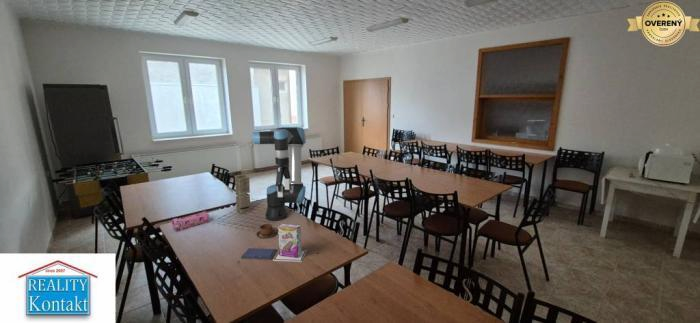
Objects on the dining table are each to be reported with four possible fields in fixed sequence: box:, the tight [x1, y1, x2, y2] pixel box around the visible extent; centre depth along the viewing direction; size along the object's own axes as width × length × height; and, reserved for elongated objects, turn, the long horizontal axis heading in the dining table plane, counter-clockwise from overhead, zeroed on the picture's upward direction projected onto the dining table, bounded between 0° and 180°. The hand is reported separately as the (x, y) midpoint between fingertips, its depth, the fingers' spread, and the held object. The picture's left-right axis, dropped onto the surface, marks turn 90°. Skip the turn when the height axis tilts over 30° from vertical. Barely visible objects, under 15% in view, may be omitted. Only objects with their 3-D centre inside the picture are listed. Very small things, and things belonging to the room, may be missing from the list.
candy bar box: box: [277, 223, 302, 258], centre depth 154 cm, size 11×5×16 cm, turn 77°
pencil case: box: [171, 210, 210, 233], centre depth 193 cm, size 21×9×9 cm, turn 138°
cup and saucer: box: [255, 223, 278, 239], centre depth 180 cm, size 12×12×6 cm
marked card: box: [272, 249, 307, 263], centre depth 155 cm, size 12×15×1 cm
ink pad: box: [240, 247, 278, 260], centre depth 156 cm, size 10×16×1 cm, turn 85°
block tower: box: [234, 173, 252, 215], centre depth 217 cm, size 8×8×29 cm
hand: (283, 193), depth 168 cm, fingers open, 13 cm apart
